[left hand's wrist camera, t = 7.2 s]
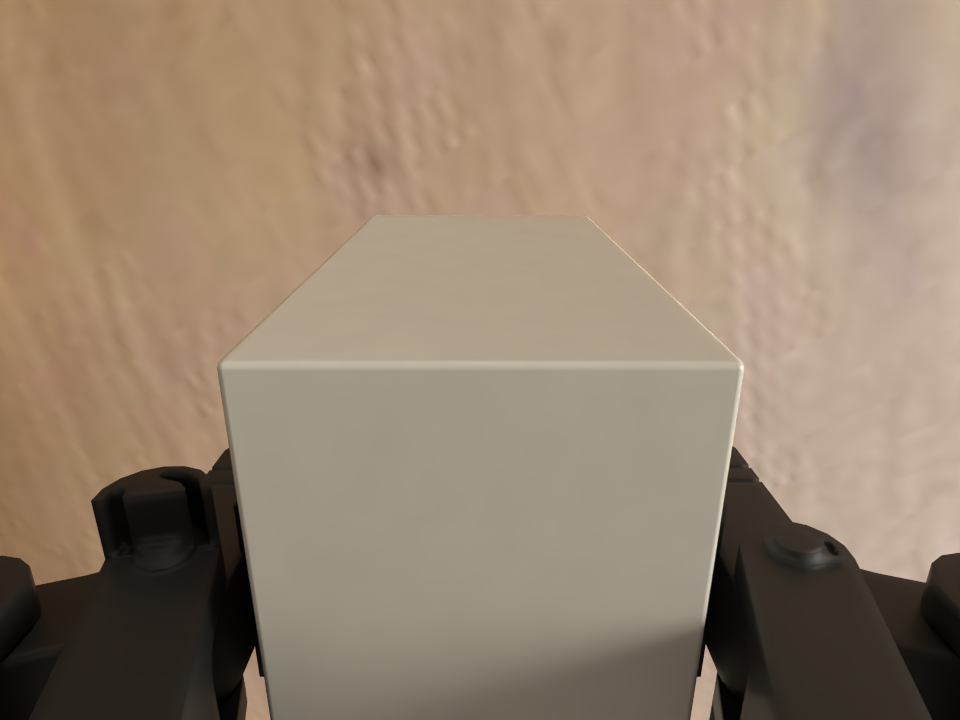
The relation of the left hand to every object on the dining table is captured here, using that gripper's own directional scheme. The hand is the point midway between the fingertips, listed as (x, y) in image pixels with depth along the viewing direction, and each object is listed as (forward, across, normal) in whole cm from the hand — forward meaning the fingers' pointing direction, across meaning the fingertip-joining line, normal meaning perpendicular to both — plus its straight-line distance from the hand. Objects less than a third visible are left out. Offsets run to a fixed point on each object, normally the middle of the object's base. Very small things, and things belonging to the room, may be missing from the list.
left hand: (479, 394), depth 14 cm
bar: (+1, 0, -9) cm, 9 cm away
